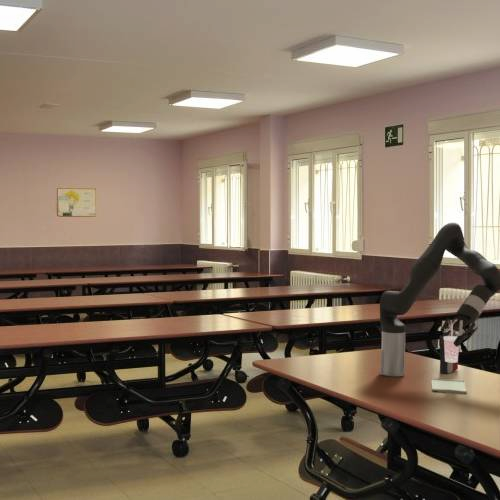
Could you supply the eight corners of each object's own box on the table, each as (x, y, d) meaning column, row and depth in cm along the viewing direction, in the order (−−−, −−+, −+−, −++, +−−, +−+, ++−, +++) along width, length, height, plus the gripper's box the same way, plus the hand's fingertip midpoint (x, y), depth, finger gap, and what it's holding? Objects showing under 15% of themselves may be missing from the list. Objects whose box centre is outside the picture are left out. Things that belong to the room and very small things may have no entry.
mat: (432, 391, 262) (432, 389, 262) (431, 380, 280) (431, 378, 280) (466, 393, 260) (466, 391, 260) (463, 382, 277) (463, 380, 277)
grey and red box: (448, 374, 291) (449, 337, 290) (438, 373, 294) (439, 336, 293) (458, 370, 300) (459, 334, 299) (448, 368, 303) (449, 333, 302)
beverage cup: (461, 363, 267) (462, 325, 267) (444, 362, 268) (445, 325, 267) (457, 359, 274) (458, 322, 273) (441, 359, 274) (442, 322, 273)
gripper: (490, 318, 271) (468, 353, 265) (460, 313, 283) (438, 347, 277) (481, 305, 267) (458, 340, 262) (451, 301, 280) (428, 334, 274)
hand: (448, 343), depth 269 cm, fingers closed on beverage cup, 6 cm apart
